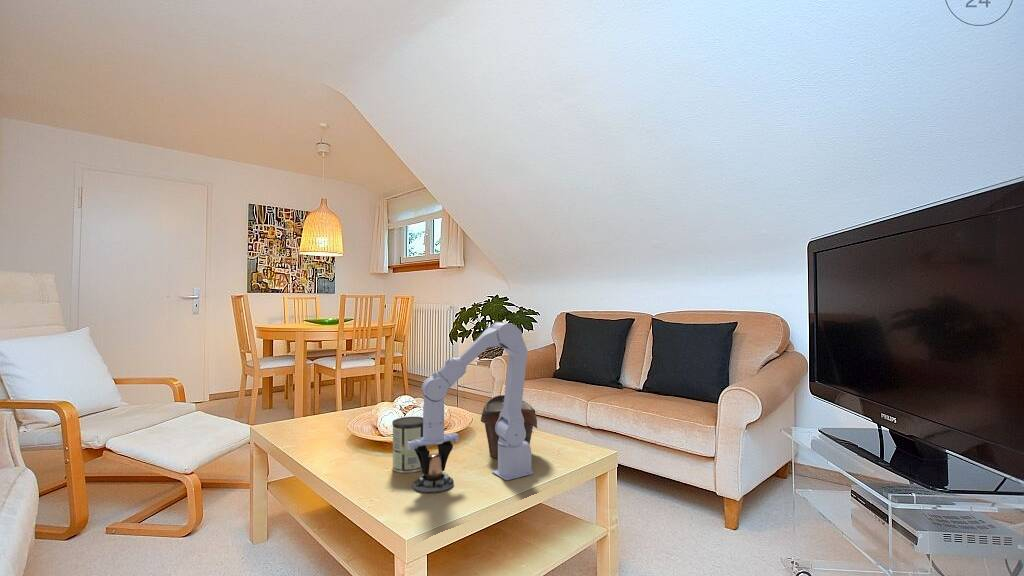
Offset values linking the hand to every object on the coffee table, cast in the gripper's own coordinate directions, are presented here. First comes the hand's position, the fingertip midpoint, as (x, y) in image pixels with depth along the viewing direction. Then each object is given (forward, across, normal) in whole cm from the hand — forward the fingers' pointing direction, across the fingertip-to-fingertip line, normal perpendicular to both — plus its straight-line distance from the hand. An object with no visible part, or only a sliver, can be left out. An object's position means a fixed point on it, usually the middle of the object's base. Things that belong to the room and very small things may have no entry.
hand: (433, 471), depth 129 cm
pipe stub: (+2, 0, 0) cm, 3 cm away
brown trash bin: (+4, +32, +10) cm, 34 cm away
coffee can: (+4, 0, +17) cm, 17 cm away
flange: (+4, 0, 0) cm, 4 cm away
